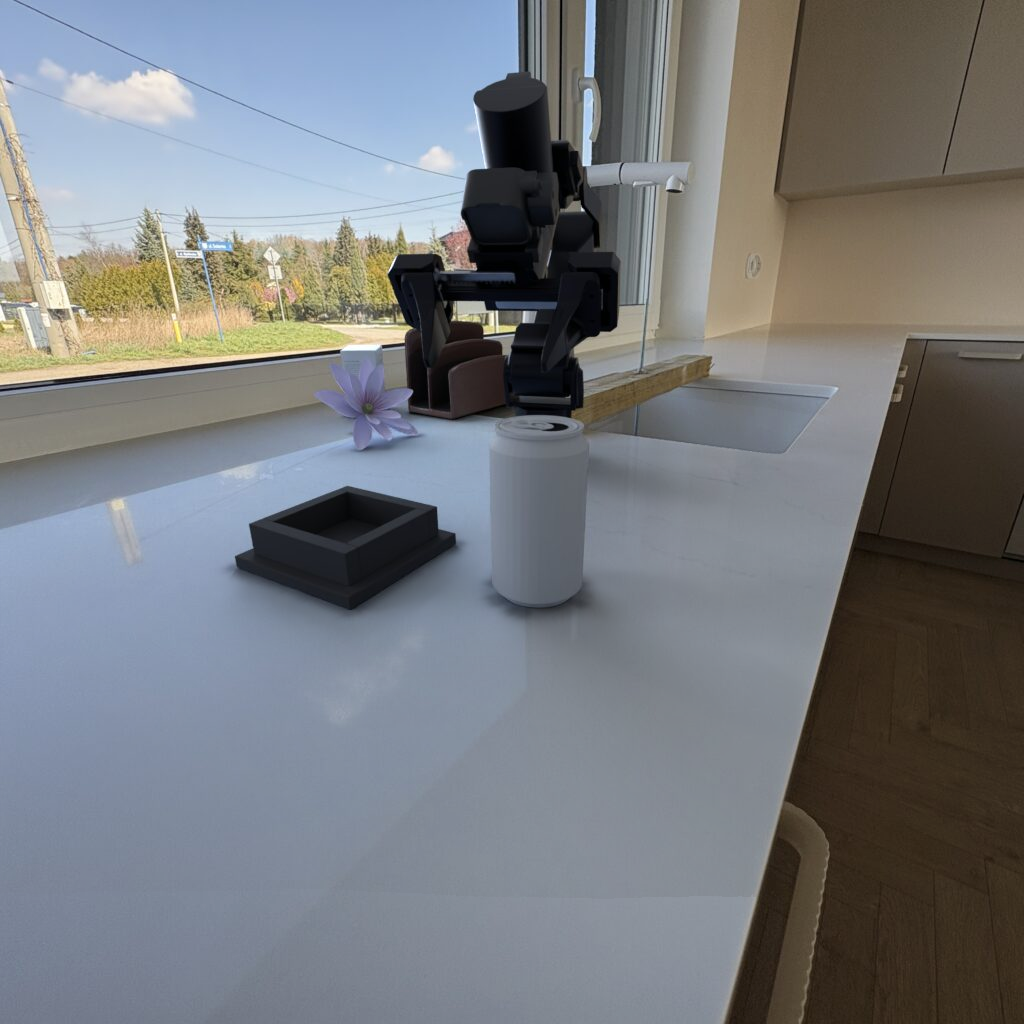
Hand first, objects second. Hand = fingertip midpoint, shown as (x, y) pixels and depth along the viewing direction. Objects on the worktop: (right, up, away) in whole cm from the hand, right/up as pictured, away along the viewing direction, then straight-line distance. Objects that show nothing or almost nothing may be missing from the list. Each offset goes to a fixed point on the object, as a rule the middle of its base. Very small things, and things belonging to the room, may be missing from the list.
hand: (484, 366), depth 43 cm
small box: (-22, +6, +52) cm, 57 cm away
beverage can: (+4, -17, -3) cm, 17 cm away
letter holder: (-6, +7, +57) cm, 57 cm away
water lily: (-17, -1, +35) cm, 39 cm away
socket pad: (-11, -14, +2) cm, 18 cm away
